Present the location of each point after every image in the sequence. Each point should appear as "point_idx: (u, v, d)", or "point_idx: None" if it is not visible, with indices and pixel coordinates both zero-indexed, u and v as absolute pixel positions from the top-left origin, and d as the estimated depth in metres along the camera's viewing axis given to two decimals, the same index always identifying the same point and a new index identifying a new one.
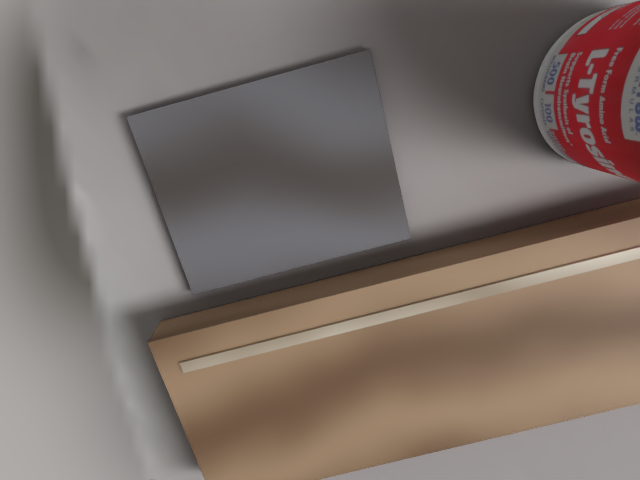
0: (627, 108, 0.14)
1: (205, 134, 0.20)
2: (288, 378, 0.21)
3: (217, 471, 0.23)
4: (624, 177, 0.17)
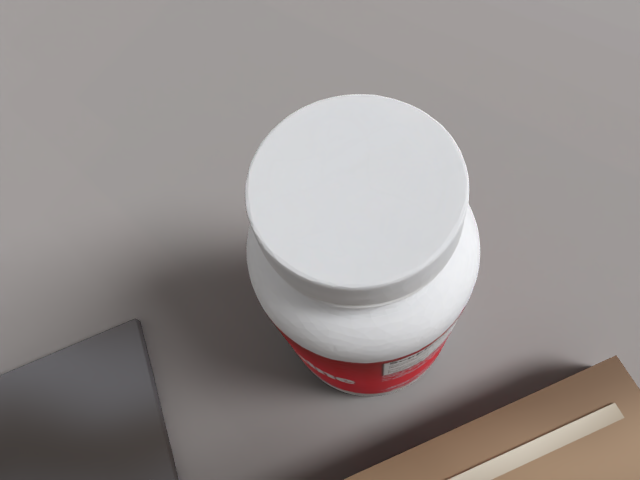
0: None
1: None
2: None
3: None
4: (351, 383, 0.15)
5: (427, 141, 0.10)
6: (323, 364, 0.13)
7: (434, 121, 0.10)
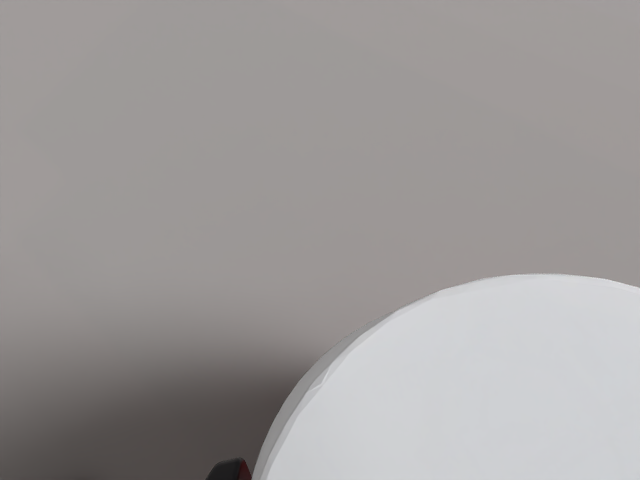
0: None
1: None
2: None
3: None
4: None
5: None
6: None
7: None
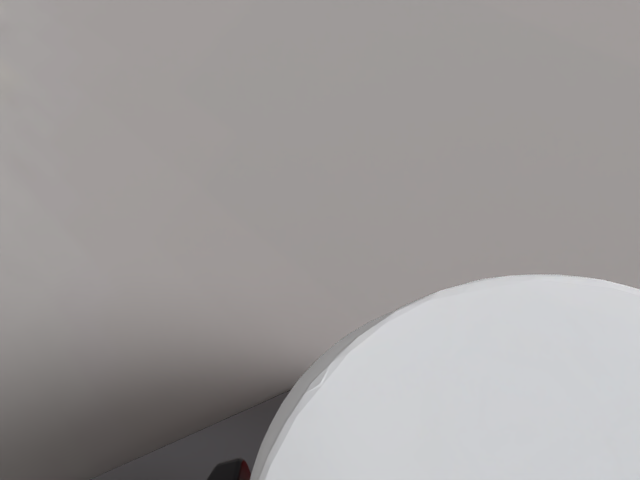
0: None
1: None
2: None
3: None
4: None
5: None
6: None
7: None
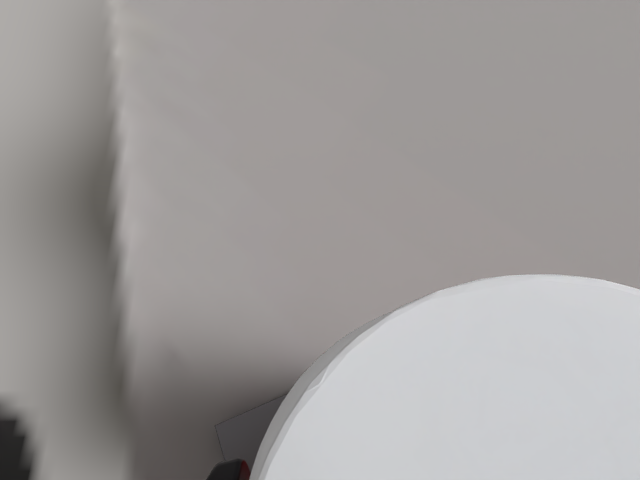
0: None
1: None
2: None
3: None
4: None
5: None
6: None
7: None
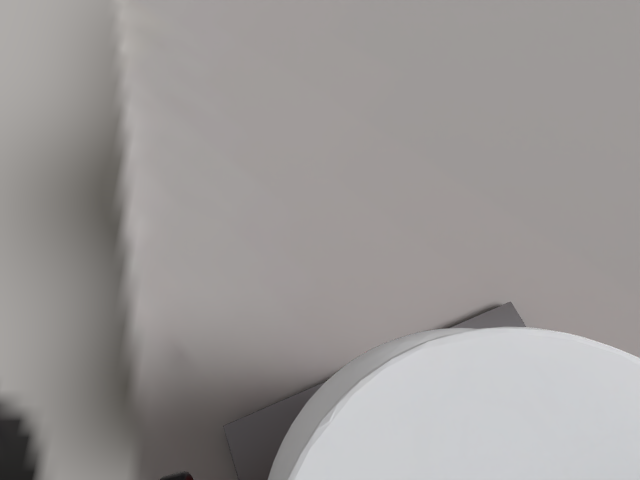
0: None
1: None
2: None
3: None
4: None
5: None
6: None
7: None
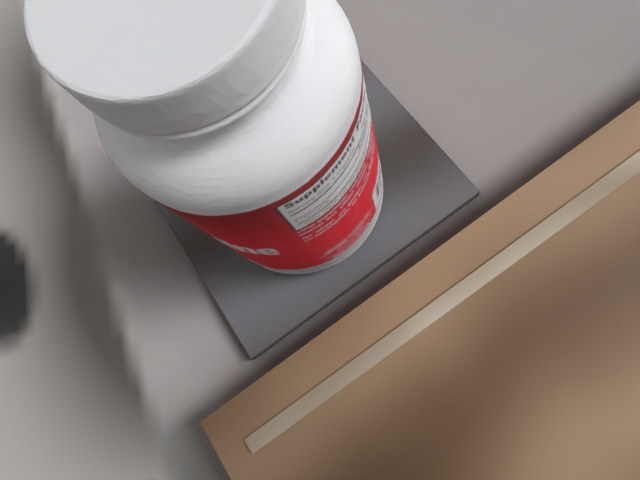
0: None
1: None
2: (397, 416, 0.14)
3: None
4: (277, 253, 0.14)
5: None
6: (223, 231, 0.12)
7: None
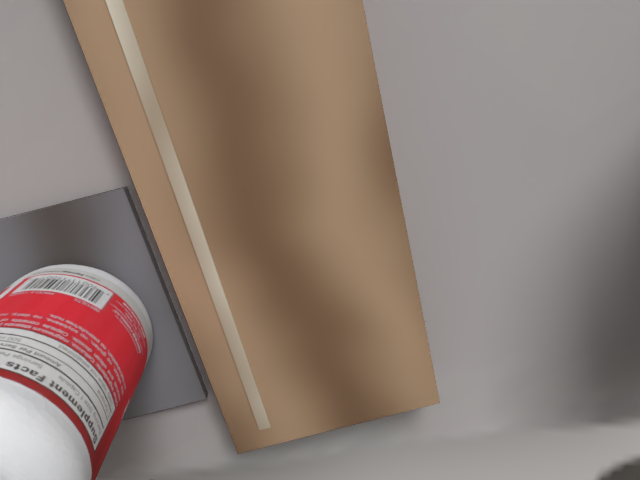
0: None
1: None
2: (279, 332, 0.19)
3: (396, 399, 0.21)
4: (128, 401, 0.17)
5: None
6: None
7: None
